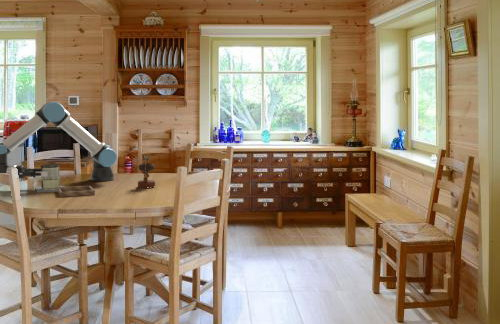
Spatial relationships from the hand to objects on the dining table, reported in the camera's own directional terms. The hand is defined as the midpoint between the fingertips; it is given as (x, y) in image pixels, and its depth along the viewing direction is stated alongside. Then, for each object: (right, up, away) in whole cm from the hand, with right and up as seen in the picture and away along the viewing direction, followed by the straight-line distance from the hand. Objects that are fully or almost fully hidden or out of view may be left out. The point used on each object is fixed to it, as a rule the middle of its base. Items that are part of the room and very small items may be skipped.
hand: (52, 172), depth 299 cm
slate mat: (-1, -10, +1) cm, 10 cm away
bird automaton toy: (+52, -9, +15) cm, 55 cm away
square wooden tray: (+17, -12, -10) cm, 23 cm away
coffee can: (-1, -10, +1) cm, 10 cm away
